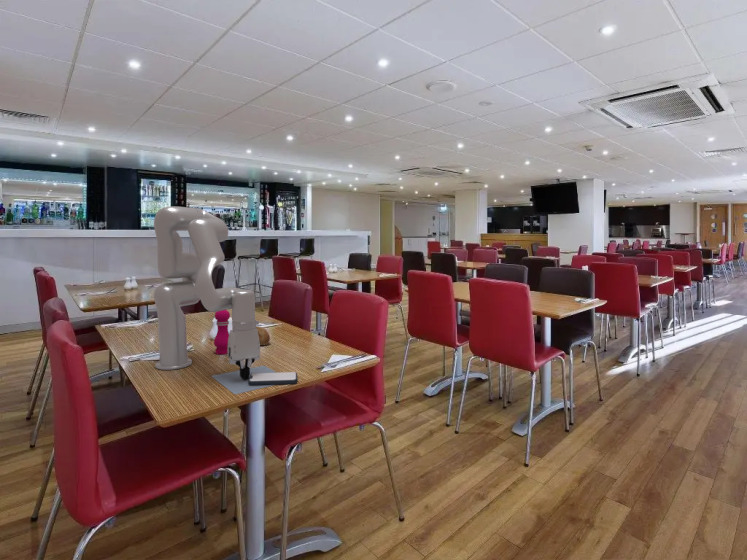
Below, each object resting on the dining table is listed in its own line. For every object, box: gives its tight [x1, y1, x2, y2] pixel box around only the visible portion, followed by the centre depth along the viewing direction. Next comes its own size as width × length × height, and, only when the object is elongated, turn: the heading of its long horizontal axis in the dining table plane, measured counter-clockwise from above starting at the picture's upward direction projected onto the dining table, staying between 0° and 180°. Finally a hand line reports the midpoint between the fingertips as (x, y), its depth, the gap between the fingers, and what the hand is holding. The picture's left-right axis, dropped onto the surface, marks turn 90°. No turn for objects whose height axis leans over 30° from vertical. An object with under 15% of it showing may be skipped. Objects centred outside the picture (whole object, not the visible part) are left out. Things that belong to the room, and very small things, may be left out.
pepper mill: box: [213, 310, 231, 356], centre depth 178 cm, size 7×7×20 cm
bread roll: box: [256, 325, 271, 346], centre depth 194 cm, size 10×15×8 cm, turn 53°
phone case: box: [248, 371, 298, 385], centre depth 145 cm, size 9×2×16 cm
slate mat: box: [211, 365, 279, 395], centre depth 147 cm, size 22×20×1 cm
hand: (244, 378), depth 146 cm, fingers closed
